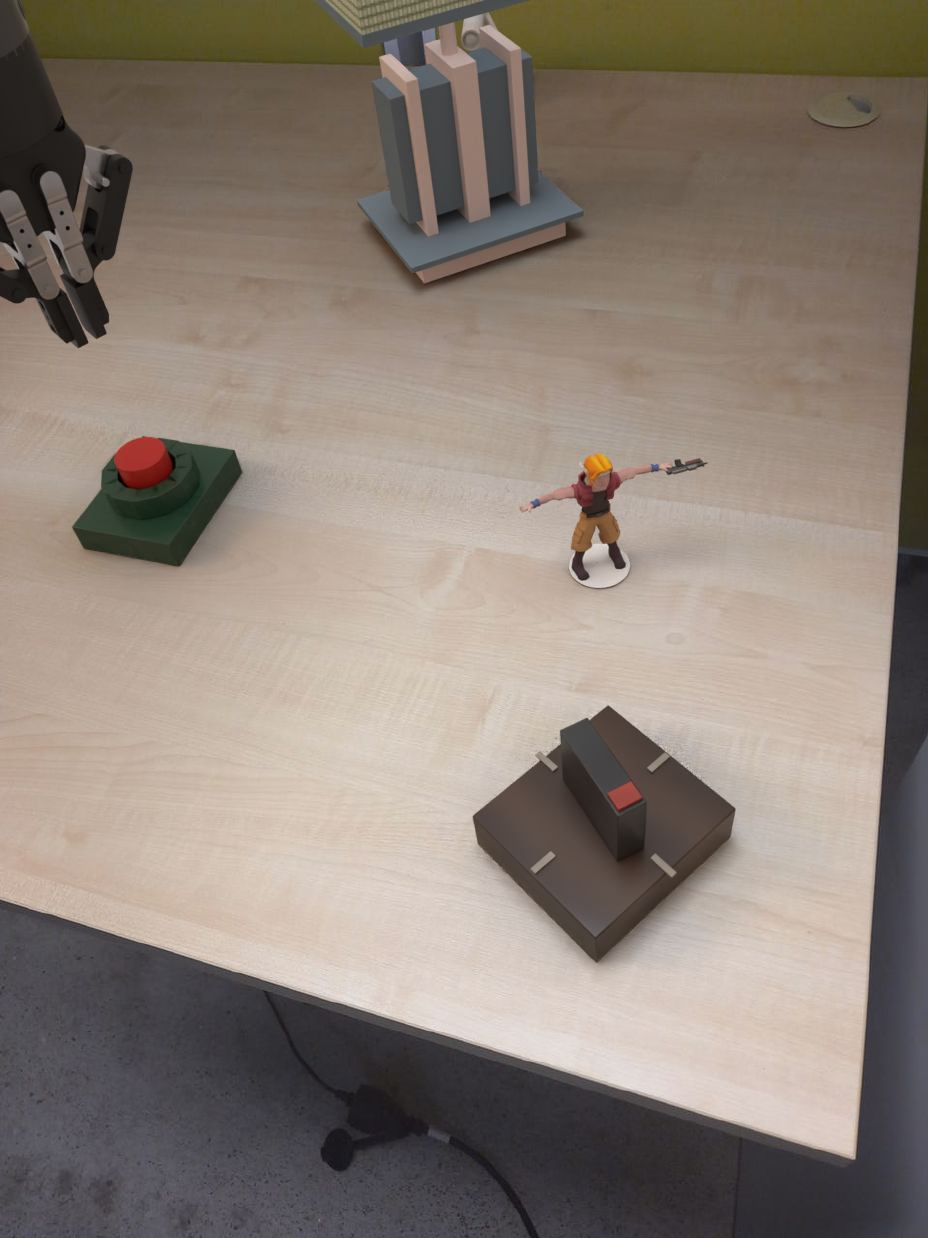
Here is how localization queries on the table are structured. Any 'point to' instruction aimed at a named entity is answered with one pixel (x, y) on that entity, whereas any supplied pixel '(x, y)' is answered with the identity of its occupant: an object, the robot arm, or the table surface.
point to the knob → (603, 789)
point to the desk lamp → (455, 140)
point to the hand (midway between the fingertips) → (86, 336)
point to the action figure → (601, 518)
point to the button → (143, 462)
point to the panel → (578, 856)
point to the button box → (159, 505)
